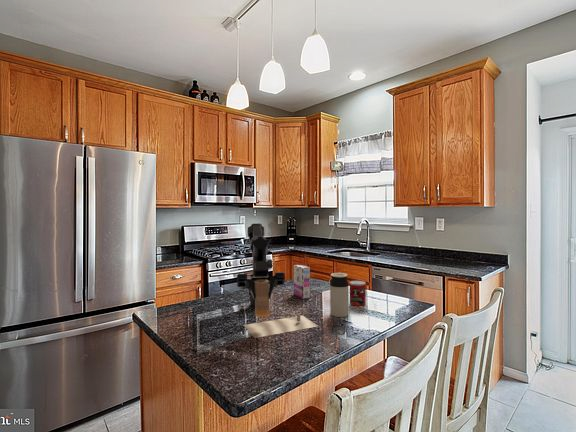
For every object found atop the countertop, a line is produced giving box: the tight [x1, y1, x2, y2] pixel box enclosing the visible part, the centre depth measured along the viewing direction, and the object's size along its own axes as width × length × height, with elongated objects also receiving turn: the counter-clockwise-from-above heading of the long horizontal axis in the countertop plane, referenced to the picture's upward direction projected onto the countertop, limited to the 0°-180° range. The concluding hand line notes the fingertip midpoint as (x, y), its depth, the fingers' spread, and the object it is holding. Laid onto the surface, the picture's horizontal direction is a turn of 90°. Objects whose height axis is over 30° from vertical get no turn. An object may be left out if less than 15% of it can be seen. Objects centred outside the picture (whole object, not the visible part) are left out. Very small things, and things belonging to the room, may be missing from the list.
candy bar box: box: [293, 264, 311, 300], centre depth 171 cm, size 11×5×16 cm, turn 25°
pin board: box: [243, 313, 319, 339], centre depth 124 cm, size 26×14×5 cm, turn 114°
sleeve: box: [254, 279, 270, 318], centre depth 120 cm, size 5×5×13 cm
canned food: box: [349, 280, 367, 308], centre depth 155 cm, size 8×8×11 cm
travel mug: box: [329, 272, 350, 318], centre depth 140 cm, size 8×8×18 cm
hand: (262, 298), depth 119 cm, fingers closed on sleeve, 5 cm apart
